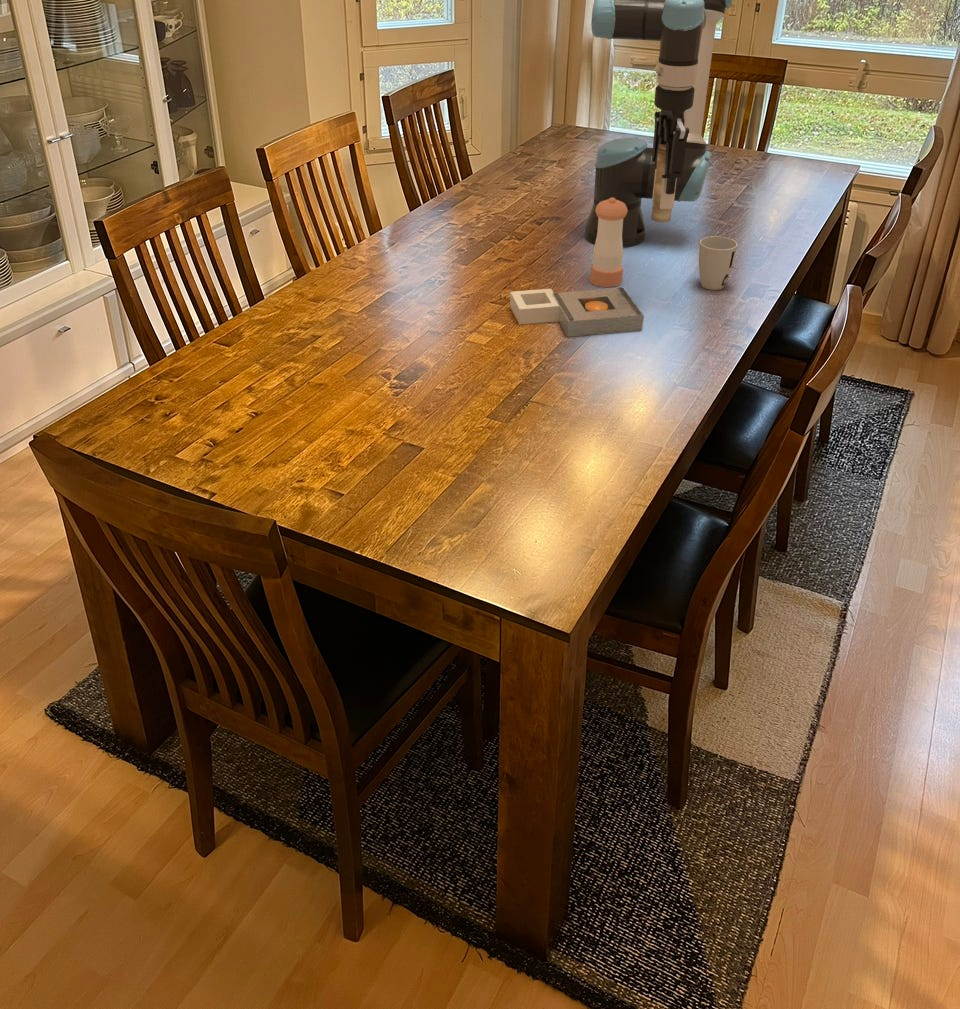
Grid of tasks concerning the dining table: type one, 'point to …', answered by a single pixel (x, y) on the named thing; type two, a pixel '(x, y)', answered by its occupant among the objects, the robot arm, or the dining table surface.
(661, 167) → the brown wooden cylinder
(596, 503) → the dining table surface
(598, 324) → the grey square frame
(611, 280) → the salt shaker
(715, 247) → the cup
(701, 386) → the dining table surface
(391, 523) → the dining table surface
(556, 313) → the holder
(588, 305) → the button
